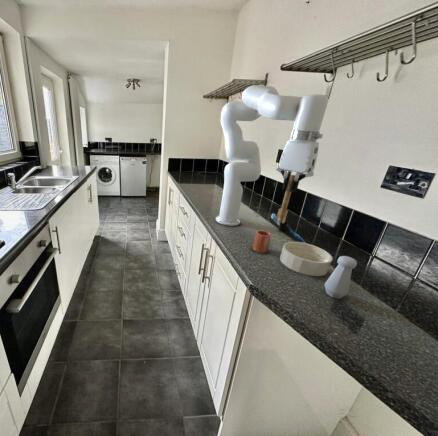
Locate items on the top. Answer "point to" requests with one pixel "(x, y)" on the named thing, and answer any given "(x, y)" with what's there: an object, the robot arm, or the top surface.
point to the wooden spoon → (285, 202)
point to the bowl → (306, 258)
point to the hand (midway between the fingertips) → (288, 190)
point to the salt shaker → (340, 277)
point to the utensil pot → (261, 241)
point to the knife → (287, 229)
